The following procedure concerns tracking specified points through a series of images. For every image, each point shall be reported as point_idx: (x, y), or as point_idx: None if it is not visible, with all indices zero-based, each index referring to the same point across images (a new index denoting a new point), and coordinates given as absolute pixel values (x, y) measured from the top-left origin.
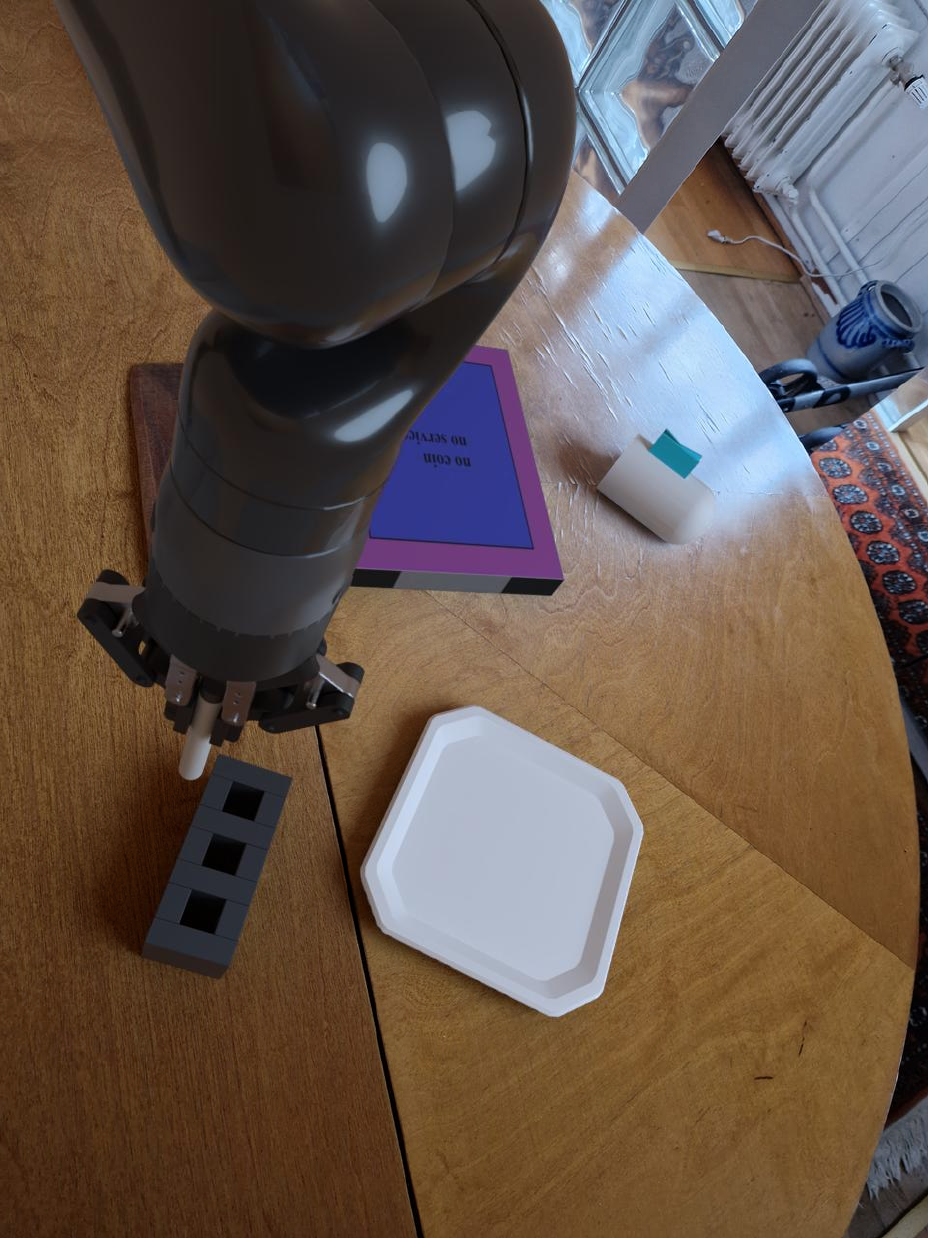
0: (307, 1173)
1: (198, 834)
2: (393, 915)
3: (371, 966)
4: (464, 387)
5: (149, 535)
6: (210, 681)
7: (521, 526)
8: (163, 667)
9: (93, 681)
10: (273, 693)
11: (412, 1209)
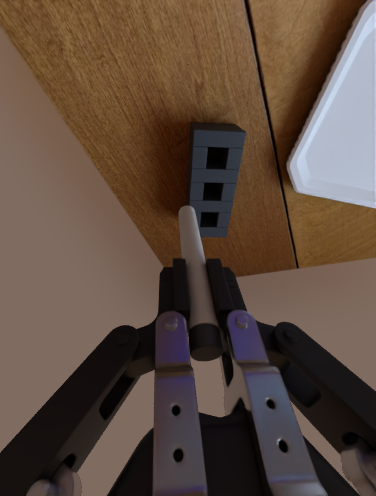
0: (260, 263)
1: (196, 185)
2: (303, 183)
3: (287, 199)
4: None
5: None
6: (199, 354)
7: None
8: (143, 370)
9: (89, 68)
10: (277, 357)
11: (296, 265)
